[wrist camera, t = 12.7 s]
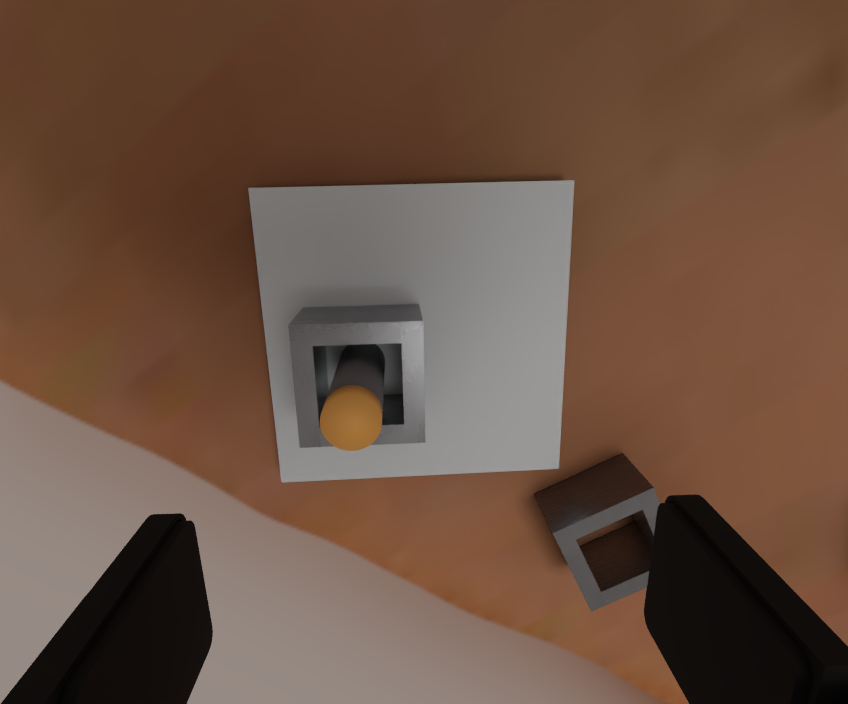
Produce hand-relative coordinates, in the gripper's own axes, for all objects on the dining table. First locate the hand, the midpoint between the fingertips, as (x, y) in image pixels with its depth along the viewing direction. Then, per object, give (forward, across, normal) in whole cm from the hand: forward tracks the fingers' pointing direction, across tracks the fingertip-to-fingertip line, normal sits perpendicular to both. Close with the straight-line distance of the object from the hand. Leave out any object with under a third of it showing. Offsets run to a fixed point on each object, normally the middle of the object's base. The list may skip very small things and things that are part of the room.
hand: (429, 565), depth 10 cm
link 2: (+20, -11, +12) cm, 26 cm away
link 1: (+18, +3, +1) cm, 18 cm away
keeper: (+19, 0, 0) cm, 19 cm away
